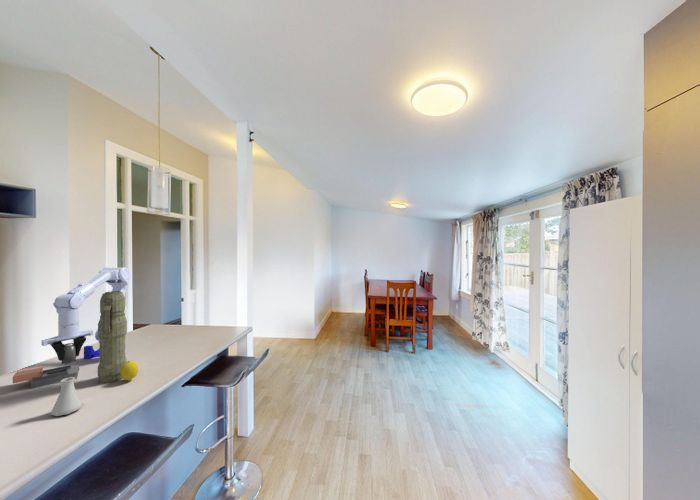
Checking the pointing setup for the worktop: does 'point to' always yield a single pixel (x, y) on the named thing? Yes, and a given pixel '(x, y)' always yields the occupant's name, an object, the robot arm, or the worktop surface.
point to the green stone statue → (111, 336)
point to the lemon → (129, 370)
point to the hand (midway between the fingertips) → (68, 357)
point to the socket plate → (55, 375)
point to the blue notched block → (90, 352)
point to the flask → (67, 399)
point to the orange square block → (27, 374)
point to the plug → (69, 353)
